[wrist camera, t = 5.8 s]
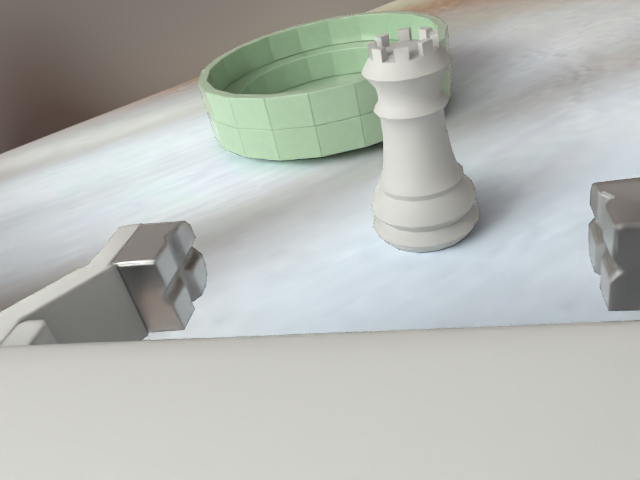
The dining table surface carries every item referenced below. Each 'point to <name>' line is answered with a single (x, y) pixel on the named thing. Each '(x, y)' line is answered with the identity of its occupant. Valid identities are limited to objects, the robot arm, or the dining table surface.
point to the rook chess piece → (417, 147)
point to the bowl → (305, 87)
